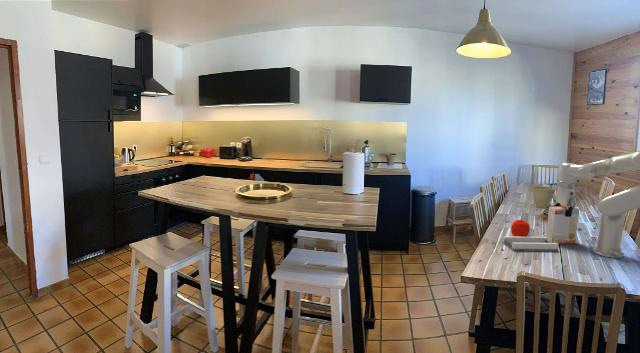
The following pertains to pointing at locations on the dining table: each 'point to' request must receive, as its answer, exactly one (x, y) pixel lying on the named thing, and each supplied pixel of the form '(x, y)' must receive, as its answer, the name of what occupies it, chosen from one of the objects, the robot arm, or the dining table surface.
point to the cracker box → (562, 225)
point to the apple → (520, 228)
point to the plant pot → (543, 196)
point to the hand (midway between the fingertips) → (562, 214)
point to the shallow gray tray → (529, 243)
